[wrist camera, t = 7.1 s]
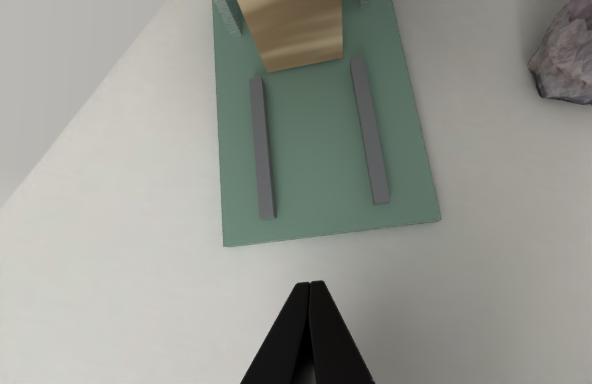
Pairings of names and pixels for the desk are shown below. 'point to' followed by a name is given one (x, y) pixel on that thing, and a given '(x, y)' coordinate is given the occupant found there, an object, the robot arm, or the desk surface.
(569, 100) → the geode
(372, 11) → the board
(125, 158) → the desk surface
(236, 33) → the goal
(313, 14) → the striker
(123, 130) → the desk surface
